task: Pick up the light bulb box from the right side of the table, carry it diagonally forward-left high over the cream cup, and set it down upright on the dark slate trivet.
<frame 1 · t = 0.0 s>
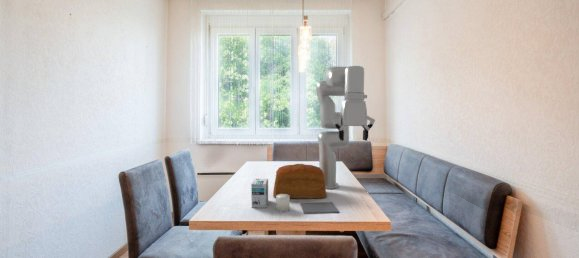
hand: (353, 140, 110), 31 cm above the table, tool pointing down, fingers open, 9 cm apart
bread: (299, 195, 140), on the table
slate trivet: (318, 208, 121), on the table
light bulb box: (260, 204, 126), on the table
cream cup: (282, 209, 119), on the table
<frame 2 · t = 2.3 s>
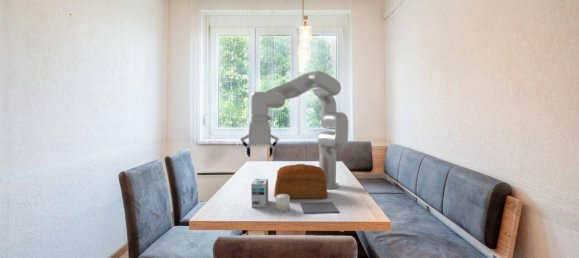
hand: (259, 156, 125), 22 cm above the table, tool pointing down, fingers open, 9 cm apart
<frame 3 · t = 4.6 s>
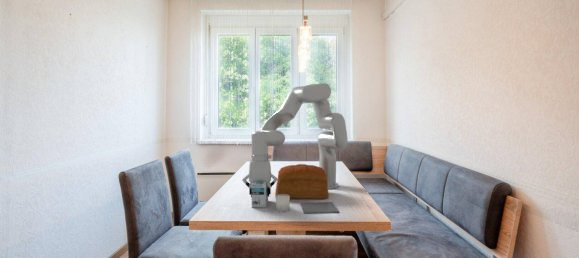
hand: (260, 195, 126), 4 cm above the table, tool pointing down, fingers closed on light bulb box, 7 cm apart
light bulb box: (260, 204, 126), on the table, touching gripper
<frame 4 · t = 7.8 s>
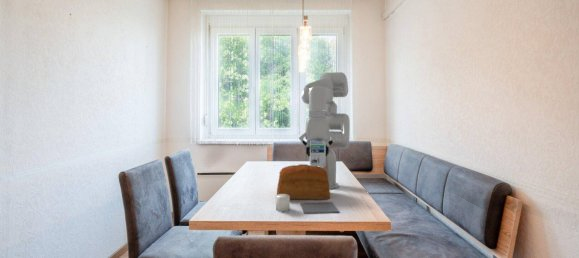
hand: (317, 155, 119), 24 cm above the table, tool pointing down, fingers closed on light bulb box, 7 cm apart
light bulb box: (317, 164, 120), point 20 cm above the table, touching gripper
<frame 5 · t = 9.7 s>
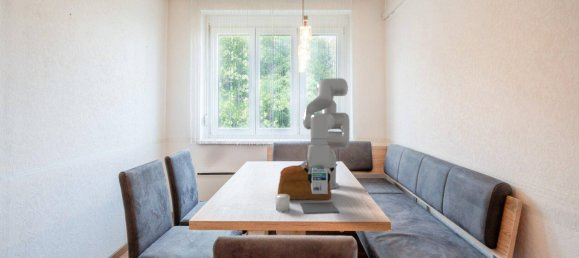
hand: (318, 182, 120), 12 cm above the table, tool pointing down, fingers closed on light bulb box, 7 cm apart
light bulb box: (318, 191, 120), point 8 cm above the table, touching gripper
when the fingers open (6 cm above the table, at t = 11.2 s): light bulb box drops 2 cm, resting on slate trivet.
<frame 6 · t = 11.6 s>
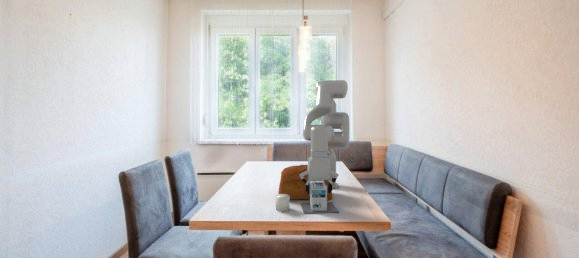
hand: (318, 192, 120), 7 cm above the table, tool pointing down, fingers open, 9 cm apart
light bulb box: (318, 207, 121), resting on slate trivet
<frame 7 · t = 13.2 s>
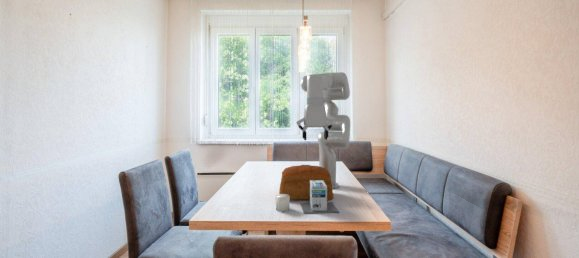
hand: (315, 139, 125), 30 cm above the table, tool pointing down, fingers open, 9 cm apart
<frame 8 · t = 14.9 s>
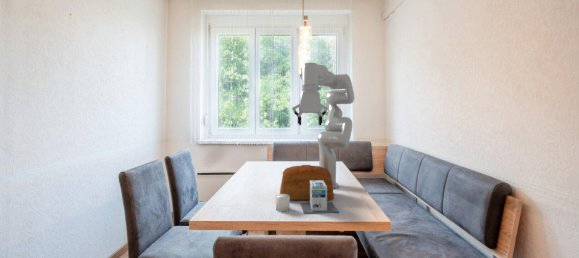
hand: (309, 125, 131), 36 cm above the table, tool pointing down, fingers open, 9 cm apart
at the end: light bulb box inside the target area on the slate trivet (0.3 cm from its centre), point 0.4 cm above the slate trivet's base; light bulb box tilted 0°; the gripper is holding nothing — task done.
